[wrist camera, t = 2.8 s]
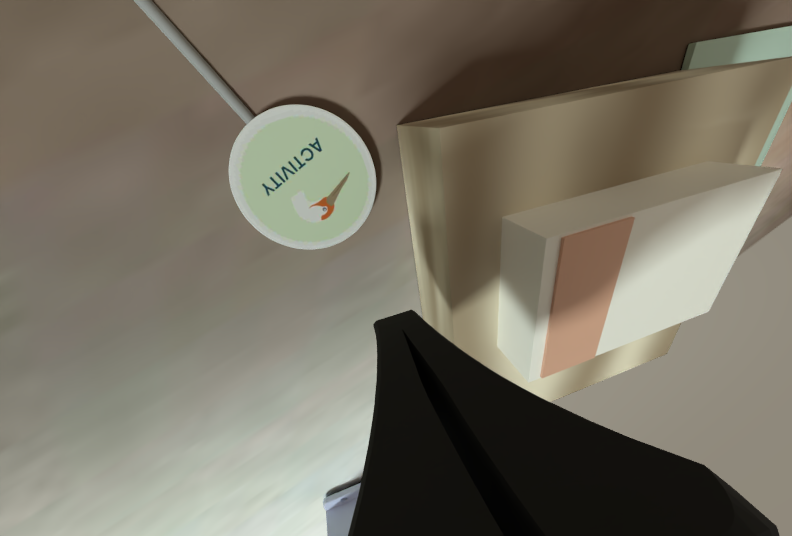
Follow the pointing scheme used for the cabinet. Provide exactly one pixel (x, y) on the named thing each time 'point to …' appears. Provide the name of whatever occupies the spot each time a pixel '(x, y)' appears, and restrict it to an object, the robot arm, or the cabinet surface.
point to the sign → (291, 164)
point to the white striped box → (621, 262)
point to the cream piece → (563, 185)
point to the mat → (744, 60)
